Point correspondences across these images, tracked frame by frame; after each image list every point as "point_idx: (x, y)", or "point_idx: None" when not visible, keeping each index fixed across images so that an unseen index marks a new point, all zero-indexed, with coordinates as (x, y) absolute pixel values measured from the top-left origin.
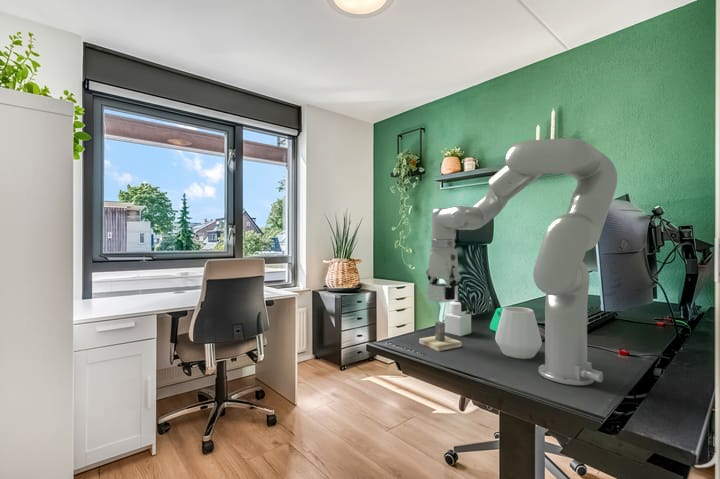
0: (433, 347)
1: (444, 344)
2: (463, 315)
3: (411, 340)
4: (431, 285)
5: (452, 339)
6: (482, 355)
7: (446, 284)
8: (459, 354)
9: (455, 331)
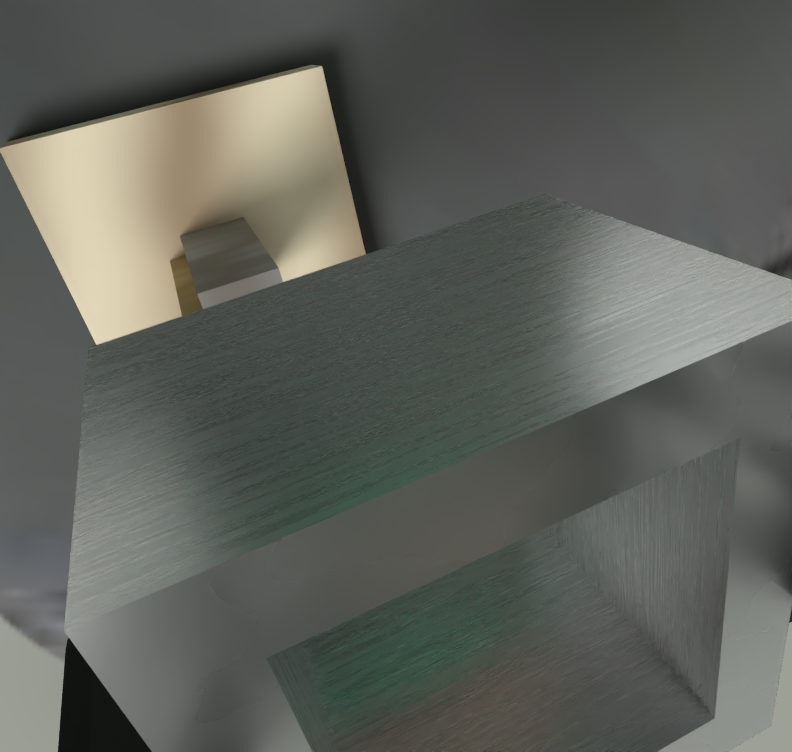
0: None
1: None
2: None
3: (37, 446)
4: None
5: (220, 116)
6: (557, 31)
7: (455, 567)
8: (478, 202)
9: None
